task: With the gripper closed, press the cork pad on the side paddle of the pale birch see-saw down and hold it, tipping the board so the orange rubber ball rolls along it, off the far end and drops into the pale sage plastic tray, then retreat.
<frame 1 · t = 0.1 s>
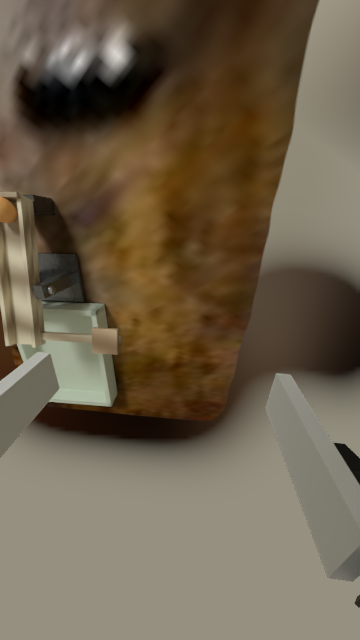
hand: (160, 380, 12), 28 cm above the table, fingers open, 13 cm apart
ball: (2, 210, 28), point 7 cm above the table, tilted 13°, touching lever
lever: (59, 278, 31), point 8 cm above the table, hinge at -14.0°, touching ball
tray: (73, 351, 46), on the table
stand: (55, 277, 39), on the table
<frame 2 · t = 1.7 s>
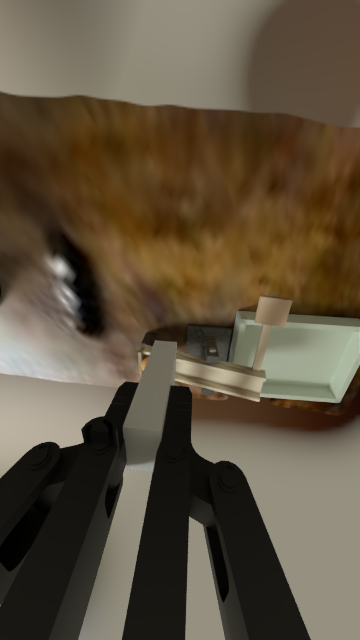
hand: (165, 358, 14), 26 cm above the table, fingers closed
ball: (150, 365, 37), point 7 cm above the table, tilted 13°, touching lever
lever: (202, 340, 34), point 8 cm above the table, hinge at -14.0°, touching ball
tray: (286, 353, 43), on the table
stand: (206, 347, 44), on the table
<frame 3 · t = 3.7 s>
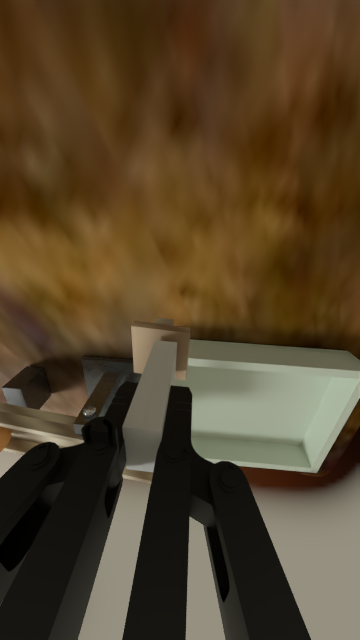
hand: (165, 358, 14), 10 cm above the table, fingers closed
lever: (65, 398, 19), point 8 cm above the table, hinge at -6.1°, touching ball, gripper
tray: (236, 397, 29), on the table
stand: (119, 387, 30), on the table
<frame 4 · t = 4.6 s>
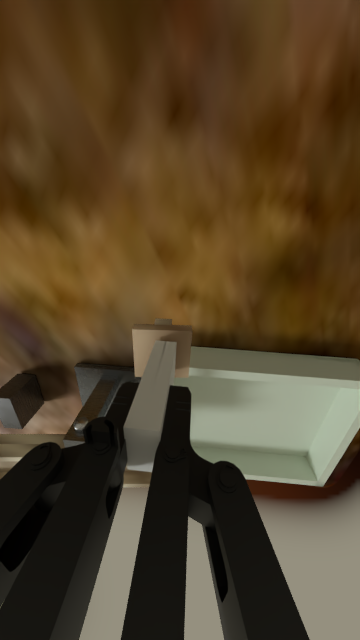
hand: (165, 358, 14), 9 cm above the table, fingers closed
lever: (53, 415, 17), point 9 cm above the table, hinge at 5.4°, touching ball, gripper
tray: (238, 406, 27), on the table
stand: (115, 395, 28), on the table
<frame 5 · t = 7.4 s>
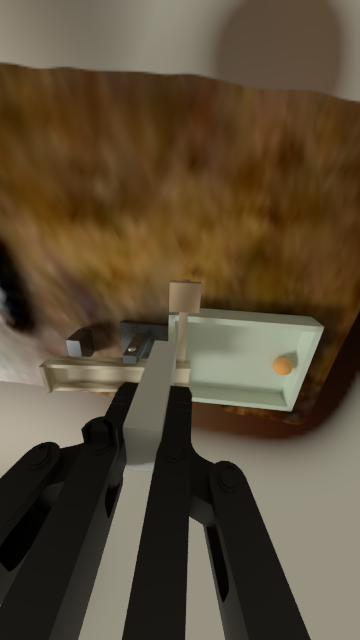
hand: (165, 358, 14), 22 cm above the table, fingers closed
ball: (282, 366, 36), point 2 cm above the table, tilted 105°, touching tray
lever: (118, 339, 29), point 9 cm above the table, hinge at 5.7°
tray: (232, 354, 39), on the table
stand: (145, 346, 40), on the table
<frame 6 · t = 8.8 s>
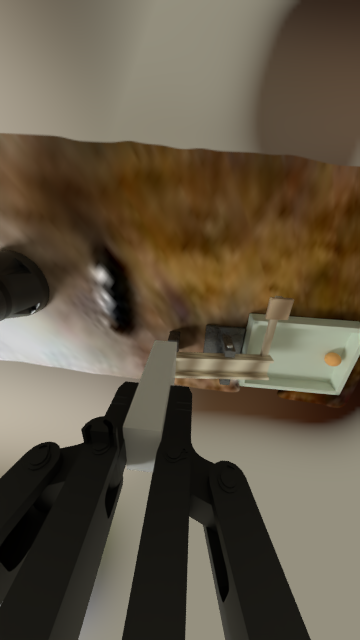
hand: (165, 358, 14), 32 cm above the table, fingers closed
ball: (332, 359, 47), point 2 cm above the table, tilted 119°, touching tray
lever: (223, 339, 40), point 9 cm above the table, hinge at 5.7°
tray: (292, 350, 50), on the table
stand: (222, 344, 50), on the table
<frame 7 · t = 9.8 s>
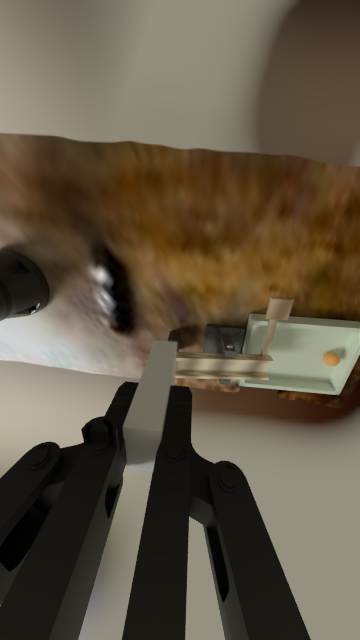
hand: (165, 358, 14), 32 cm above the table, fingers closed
ball: (331, 359, 47), point 2 cm above the table, tilted 129°, touching tray
lever: (223, 339, 40), point 9 cm above the table, hinge at 5.7°
tray: (292, 350, 50), on the table
stand: (222, 344, 51), on the table
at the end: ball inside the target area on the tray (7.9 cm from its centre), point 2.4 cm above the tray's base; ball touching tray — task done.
